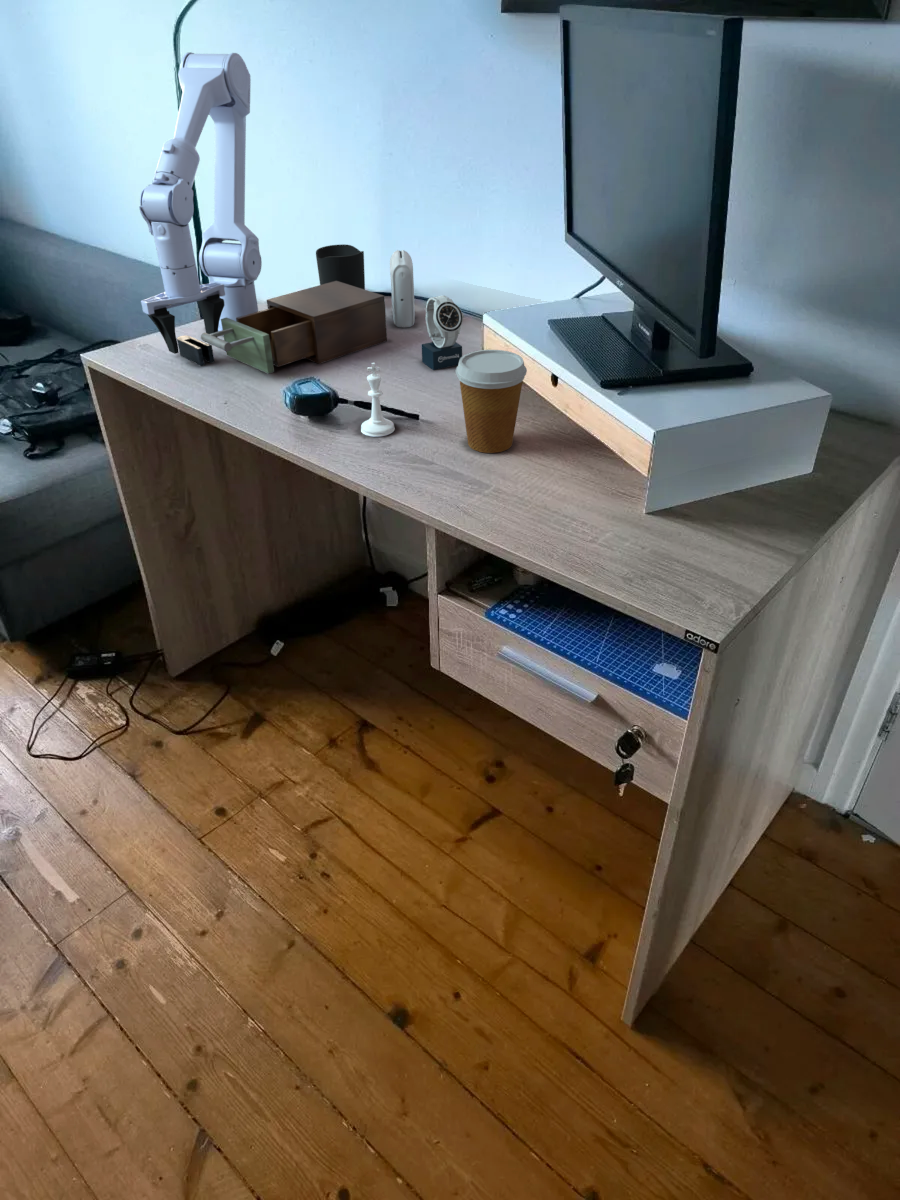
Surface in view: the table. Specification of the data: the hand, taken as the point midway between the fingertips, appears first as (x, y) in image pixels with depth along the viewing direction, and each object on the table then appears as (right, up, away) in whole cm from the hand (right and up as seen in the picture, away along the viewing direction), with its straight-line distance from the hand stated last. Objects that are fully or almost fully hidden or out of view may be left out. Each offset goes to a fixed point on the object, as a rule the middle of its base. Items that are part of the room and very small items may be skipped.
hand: (193, 346), depth 148 cm
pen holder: (+23, +17, +26) cm, 39 cm away
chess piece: (+34, -19, -23) cm, 45 cm away
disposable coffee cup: (+50, -22, -27) cm, 61 cm away
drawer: (+13, -2, -1) cm, 14 cm away
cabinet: (+23, +3, +7) cm, 24 cm away
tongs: (0, -2, +1) cm, 2 cm away
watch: (+43, -4, -2) cm, 43 cm away
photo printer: (+35, +10, +17) cm, 41 cm away
